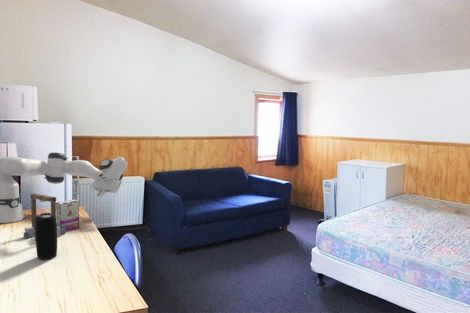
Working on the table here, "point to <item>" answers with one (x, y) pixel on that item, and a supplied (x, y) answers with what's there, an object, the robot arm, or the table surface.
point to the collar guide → (32, 233)
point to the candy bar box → (67, 214)
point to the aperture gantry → (42, 199)
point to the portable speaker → (46, 236)
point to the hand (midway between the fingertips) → (98, 196)
